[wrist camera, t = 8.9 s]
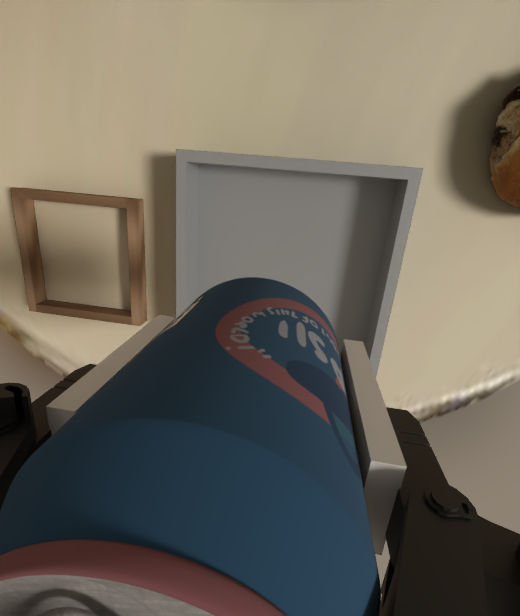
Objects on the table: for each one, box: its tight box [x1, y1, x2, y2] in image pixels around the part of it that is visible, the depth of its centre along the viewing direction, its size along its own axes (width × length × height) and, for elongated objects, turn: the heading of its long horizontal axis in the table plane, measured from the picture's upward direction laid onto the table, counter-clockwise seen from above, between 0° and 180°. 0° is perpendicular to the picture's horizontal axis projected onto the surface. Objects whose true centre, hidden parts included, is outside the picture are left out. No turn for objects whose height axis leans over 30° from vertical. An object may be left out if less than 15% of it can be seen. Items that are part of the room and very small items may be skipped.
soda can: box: [0, 277, 381, 616], centre depth 10 cm, size 7×7×12 cm
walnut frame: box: [10, 188, 147, 326], centre depth 32 cm, size 12×12×2 cm
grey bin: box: [176, 149, 423, 377], centre depth 29 cm, size 18×18×4 cm
